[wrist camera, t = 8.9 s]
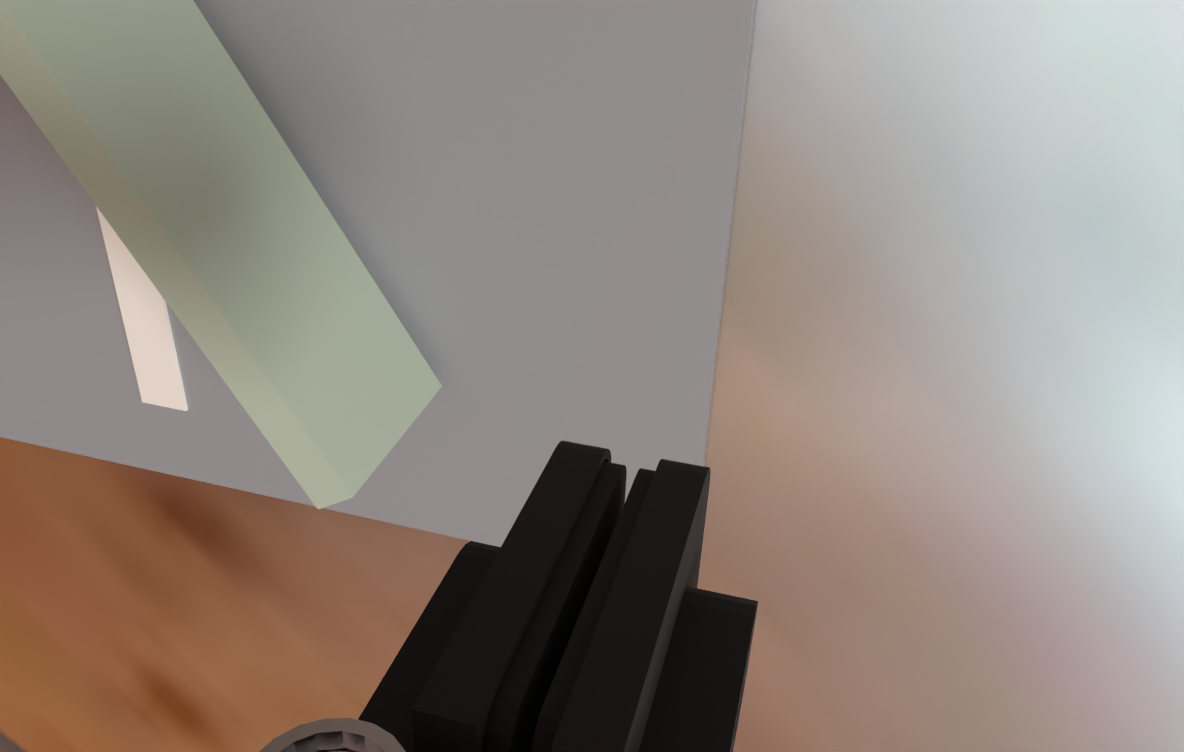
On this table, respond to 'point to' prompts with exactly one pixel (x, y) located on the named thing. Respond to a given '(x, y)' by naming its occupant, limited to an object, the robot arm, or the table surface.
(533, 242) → the board
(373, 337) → the gate panel
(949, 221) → the table surface
